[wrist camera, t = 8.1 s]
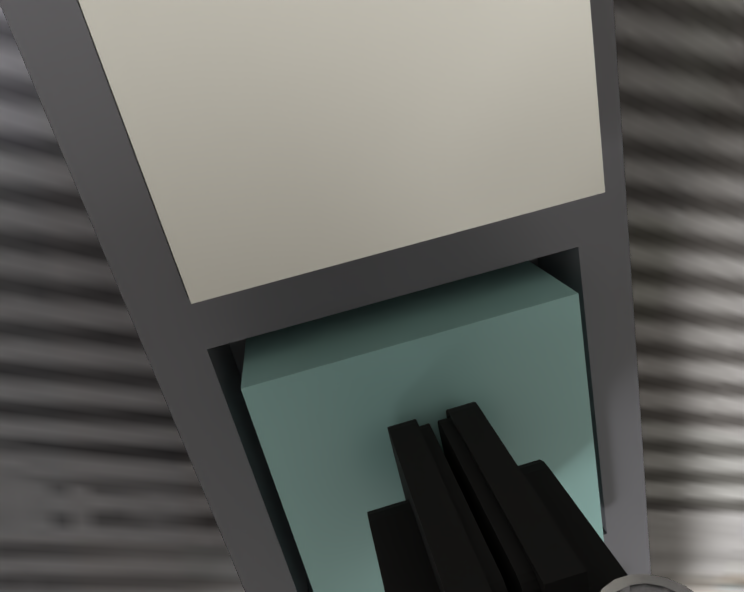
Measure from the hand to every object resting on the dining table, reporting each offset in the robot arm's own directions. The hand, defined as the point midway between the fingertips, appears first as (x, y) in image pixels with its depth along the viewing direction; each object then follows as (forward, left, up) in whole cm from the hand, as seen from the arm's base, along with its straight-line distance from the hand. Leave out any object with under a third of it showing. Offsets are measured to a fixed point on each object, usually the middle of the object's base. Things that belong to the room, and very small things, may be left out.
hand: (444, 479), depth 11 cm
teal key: (0, 0, -3) cm, 3 cm away
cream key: (-8, 0, -2) cm, 8 cm away
